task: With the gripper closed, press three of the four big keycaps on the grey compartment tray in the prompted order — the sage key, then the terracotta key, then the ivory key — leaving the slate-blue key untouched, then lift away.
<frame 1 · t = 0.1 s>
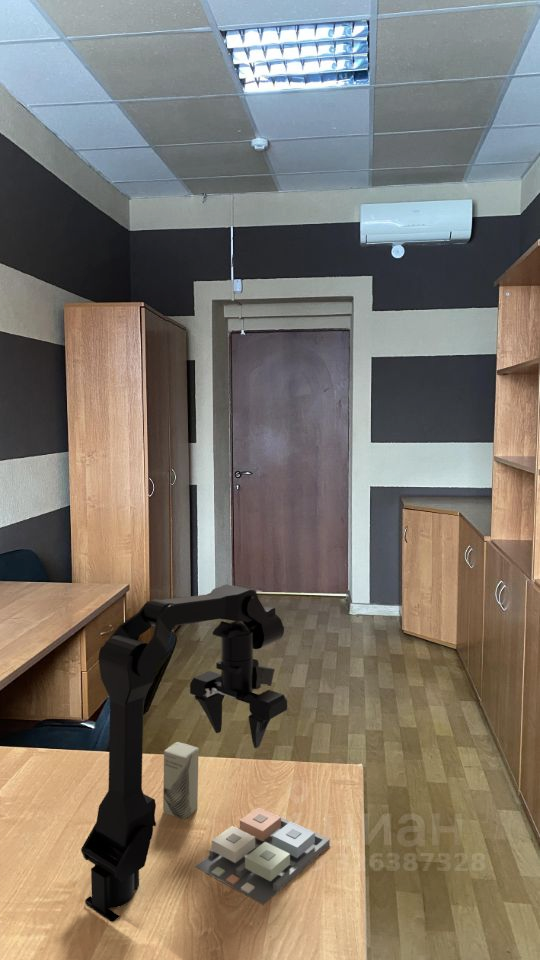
hand: (237, 739, 125), 15 cm above the table, fingers open, 9 cm apart
grey compartment tray: (263, 862, 113), on the table
key sage: (267, 860, 108), point 4 cm above the table, slide at 0.0 cm
box: (181, 816, 126), on the table
key slate: (293, 838, 114), point 4 cm above the table, slide at 0.0 cm
key terracotta: (260, 823, 118), point 4 cm above the table, slide at 0.0 cm
key ivory: (233, 843, 112), point 4 cm above the table, slide at 0.0 cm
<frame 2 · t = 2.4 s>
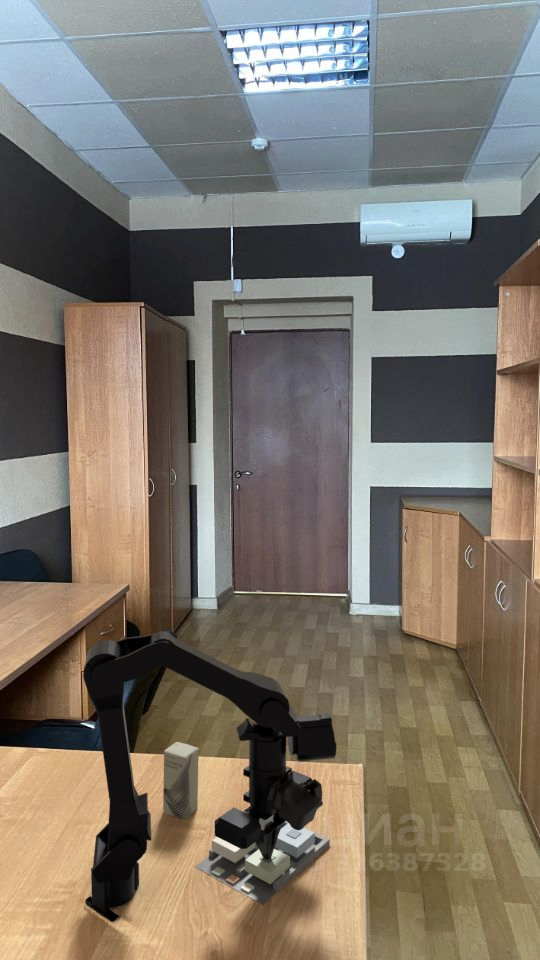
hand: (267, 857, 108), 4 cm above the table, fingers closed, pressing on key sage
key sage: (267, 863, 108), point 3 cm above the table, slide at -0.5 cm, touching gripper
everything else where it was.
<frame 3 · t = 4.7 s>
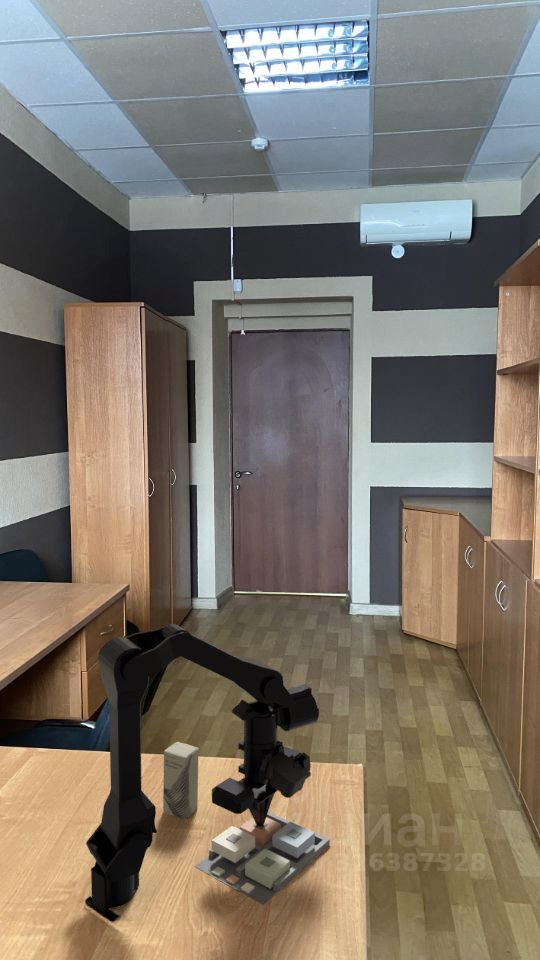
hand: (260, 824, 118), 3 cm above the table, fingers closed, pressing on key terracotta
key sage: (267, 867, 108), point 2 cm above the table, slide at -1.2 cm
key terracotta: (260, 829, 118), point 2 cm above the table, slide at -1.2 cm, touching gripper
everything else where it was.
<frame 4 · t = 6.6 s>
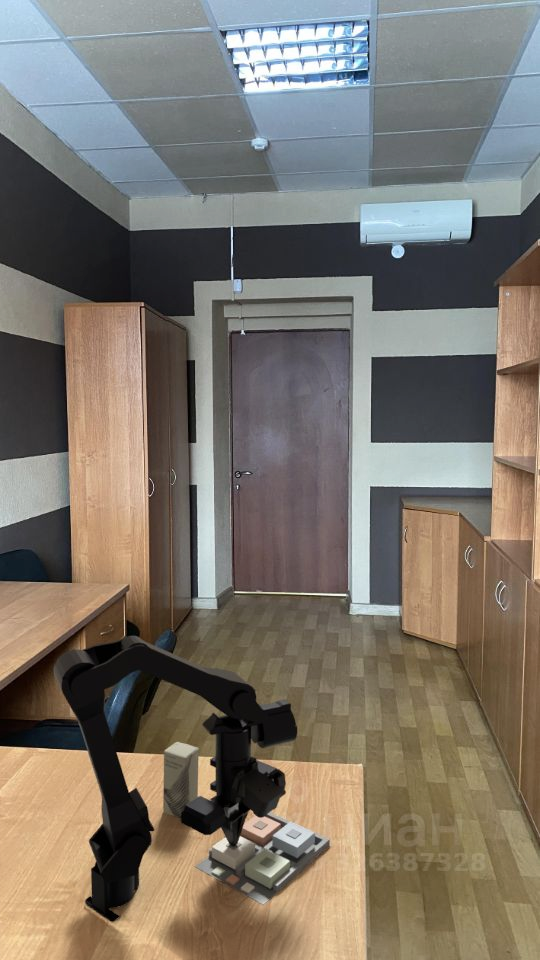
hand: (233, 844, 112), 3 cm above the table, fingers closed, pressing on key ivory
key terracotta: (260, 829, 118), point 2 cm above the table, slide at -1.2 cm
key ivory: (233, 850, 112), point 3 cm above the table, slide at -1.2 cm, touching gripper
everything else where it was.
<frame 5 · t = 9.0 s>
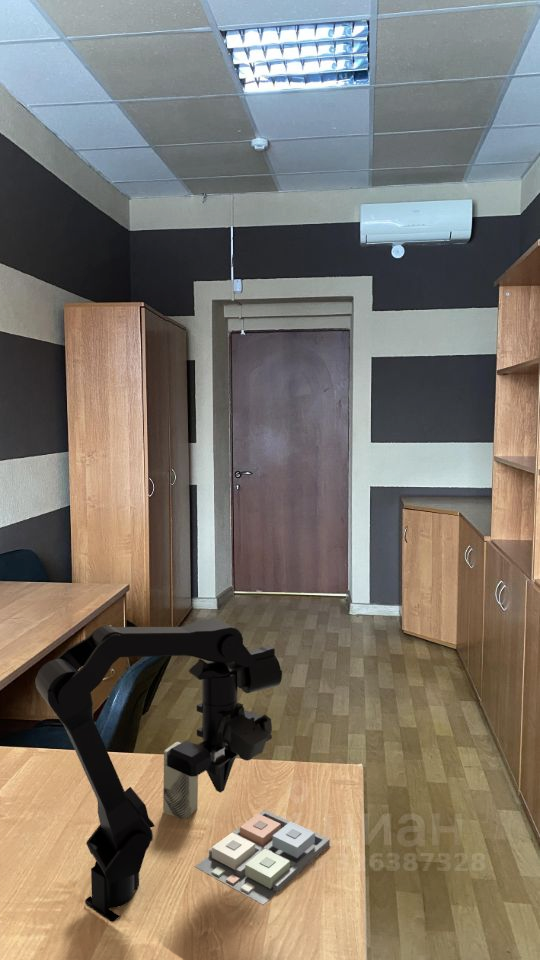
hand: (220, 790, 113), 12 cm above the table, fingers closed
key ivory: (233, 850, 112), point 2 cm above the table, slide at -1.2 cm
everything else where it was.
at the end: key sage slide at -1.2 cm; key terracotta slide at -1.2 cm; key ivory slide at -1.2 cm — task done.
